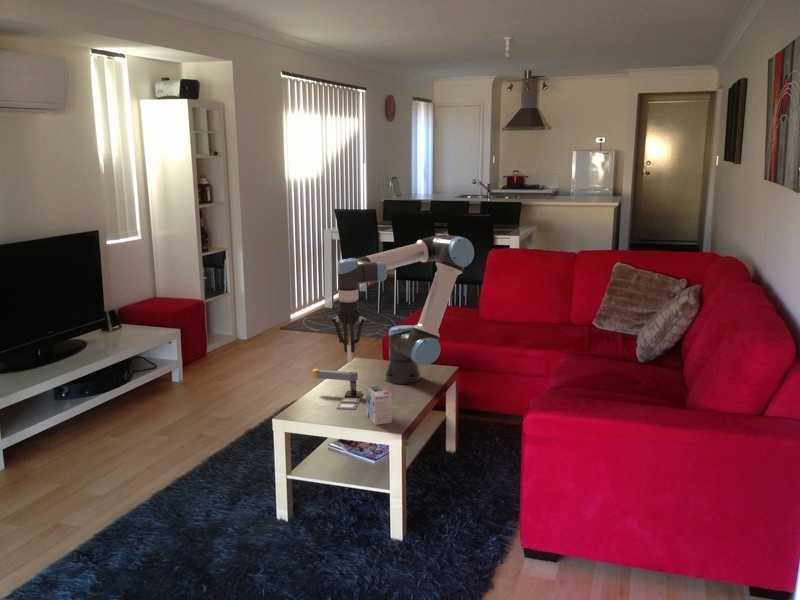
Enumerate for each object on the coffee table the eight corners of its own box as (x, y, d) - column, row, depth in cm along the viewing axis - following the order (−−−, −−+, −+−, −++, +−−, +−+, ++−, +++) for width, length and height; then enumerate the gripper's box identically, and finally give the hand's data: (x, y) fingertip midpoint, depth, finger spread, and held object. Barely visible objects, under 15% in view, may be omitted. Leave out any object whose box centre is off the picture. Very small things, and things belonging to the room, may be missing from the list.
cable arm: (356, 382, 276) (355, 374, 275) (311, 378, 280) (311, 371, 280) (358, 379, 279) (358, 371, 279) (314, 376, 284) (314, 368, 283)
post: (362, 393, 282) (361, 378, 281) (359, 398, 276) (359, 382, 275) (347, 393, 283) (347, 377, 281) (344, 398, 277) (344, 382, 275)
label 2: (357, 405, 269) (357, 403, 268) (354, 409, 264) (354, 408, 264) (339, 404, 269) (339, 403, 269) (336, 408, 265) (336, 407, 264)
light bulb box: (365, 415, 258) (365, 387, 256) (383, 412, 260) (382, 385, 258) (375, 425, 248) (374, 396, 246) (393, 422, 250) (392, 393, 248)
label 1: (360, 399, 275) (360, 397, 275) (358, 403, 271) (358, 402, 270) (343, 398, 276) (343, 397, 276) (340, 402, 271) (340, 401, 271)
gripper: (367, 298, 268) (368, 358, 273) (333, 298, 270) (335, 357, 275) (363, 302, 261) (365, 363, 266) (329, 301, 263) (331, 362, 267)
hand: (349, 360), depth 270 cm, fingers closed
